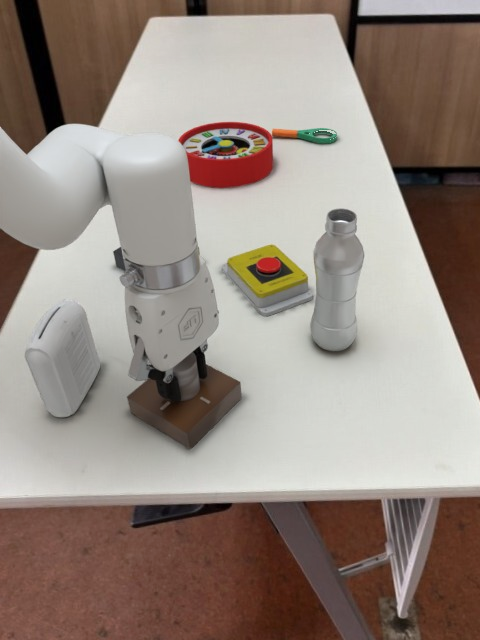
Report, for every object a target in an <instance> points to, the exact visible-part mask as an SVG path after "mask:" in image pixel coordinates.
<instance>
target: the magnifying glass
mask: <svg viewBox="0 0 480 640" xmlns="http://www.w3.org/2000/svg"><path fill="white" fill-rule="evenodd" d="M319 130H331V131H334V132H335V133H336V134H332V133H330V132H327V131H319ZM316 131H318V132H316ZM314 132H315V133H314ZM309 133H310V134H309ZM318 134H323V135H324V134H326V135H330V136H329V137H318V136H315V135H318ZM271 135H272V137H283V138H295V139H297V138H298V139H302V140H306V141H309V142H313V143H316V144H317V143H318V144H330V143H333V142H334V143H335V142H336V141H337V138H338V132H337V131H335V130H334V129H331V128H328V127H327V128H325V127H316V128H308V129H298V130H297V129H284V128H283V129H282V128H272V130H271ZM336 136H337V137H336ZM335 137H336V138H335ZM333 138H334V139H333ZM330 139H331V140H330Z"/></svg>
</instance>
